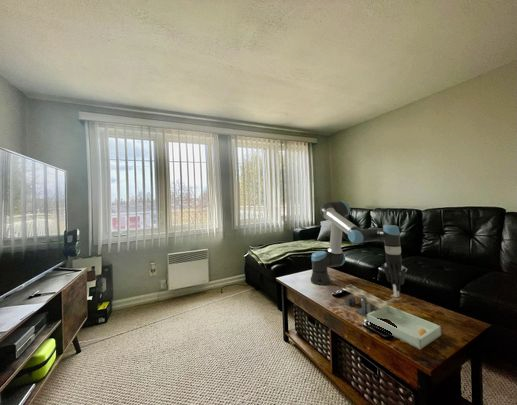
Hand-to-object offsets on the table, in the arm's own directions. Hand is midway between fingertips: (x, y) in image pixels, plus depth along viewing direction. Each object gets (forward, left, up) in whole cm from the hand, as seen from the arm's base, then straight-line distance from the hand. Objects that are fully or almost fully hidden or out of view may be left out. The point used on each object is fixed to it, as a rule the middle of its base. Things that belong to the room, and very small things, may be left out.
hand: (396, 296), depth 114 cm
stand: (-12, -13, -9) cm, 20 cm away
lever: (-10, -7, -2) cm, 12 cm away
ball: (+18, -13, -6) cm, 23 cm away
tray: (+9, -13, -9) cm, 19 cm away
